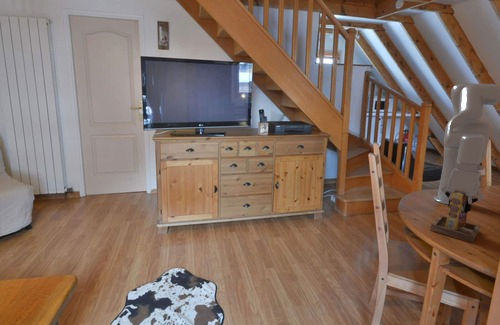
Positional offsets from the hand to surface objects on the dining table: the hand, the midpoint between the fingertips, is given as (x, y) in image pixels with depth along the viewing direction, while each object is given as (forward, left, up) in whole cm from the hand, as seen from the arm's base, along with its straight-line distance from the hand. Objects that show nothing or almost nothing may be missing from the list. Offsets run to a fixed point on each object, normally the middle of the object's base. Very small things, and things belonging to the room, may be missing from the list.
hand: (458, 210), depth 125 cm
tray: (0, 0, -9) cm, 9 cm away
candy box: (0, 0, -8) cm, 8 cm away
